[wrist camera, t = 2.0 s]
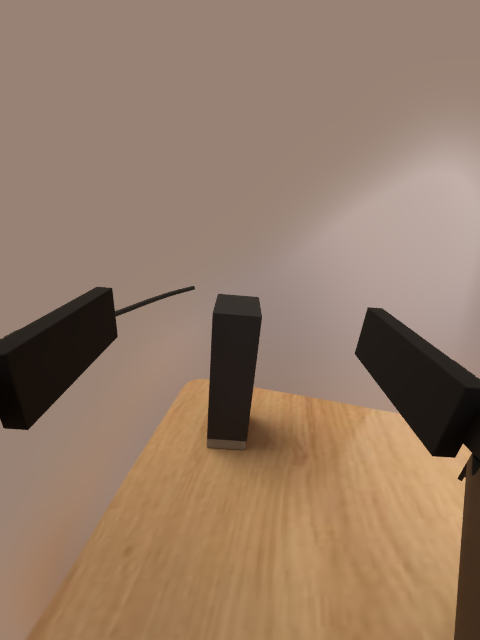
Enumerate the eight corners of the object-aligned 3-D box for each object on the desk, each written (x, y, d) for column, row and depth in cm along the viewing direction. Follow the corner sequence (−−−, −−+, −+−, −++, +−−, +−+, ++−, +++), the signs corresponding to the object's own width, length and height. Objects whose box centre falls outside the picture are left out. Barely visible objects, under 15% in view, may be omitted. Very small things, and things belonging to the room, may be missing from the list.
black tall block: (245, 450, 28) (262, 316, 22) (206, 447, 28) (212, 312, 22) (245, 415, 32) (258, 297, 26) (211, 412, 32) (218, 293, 26)
